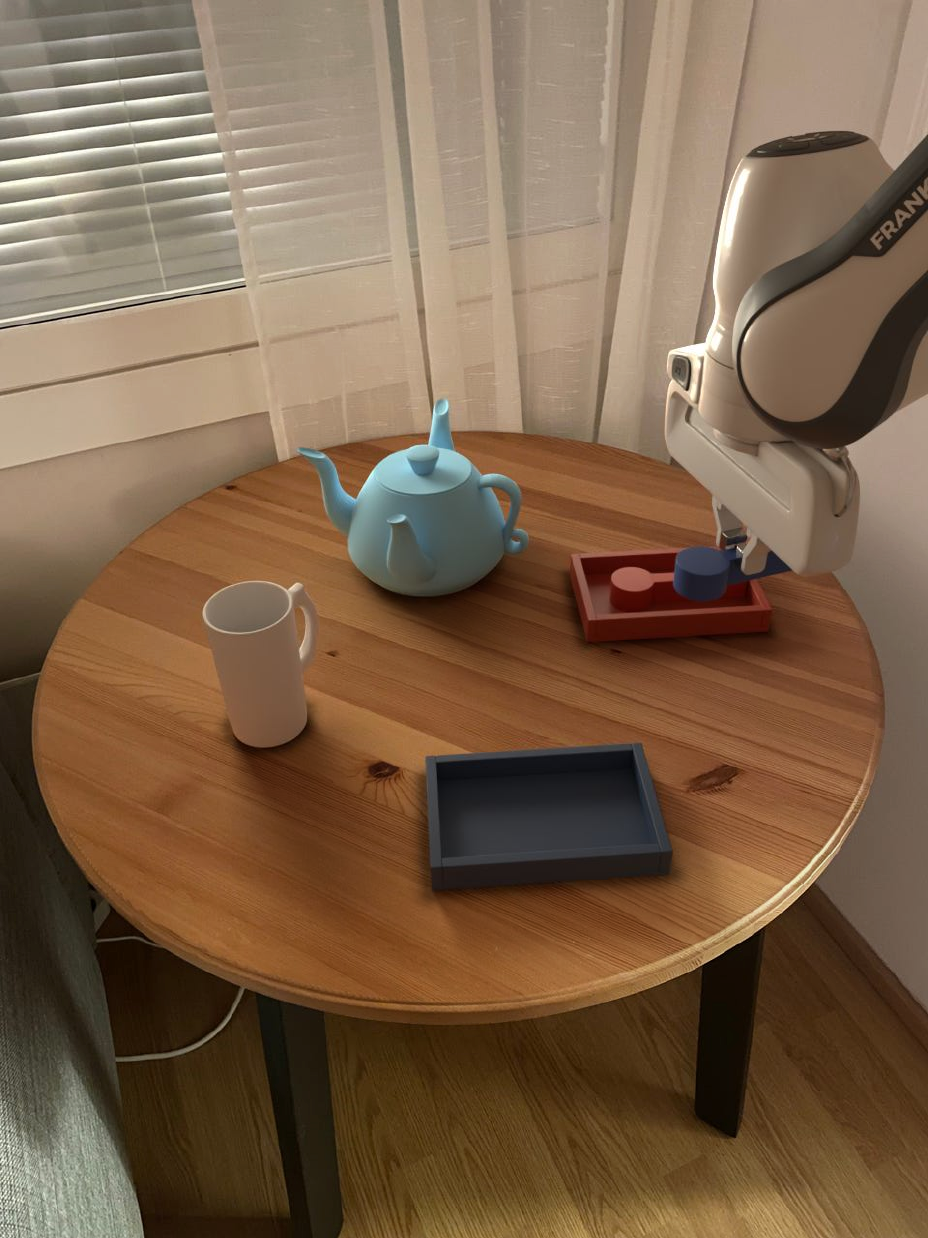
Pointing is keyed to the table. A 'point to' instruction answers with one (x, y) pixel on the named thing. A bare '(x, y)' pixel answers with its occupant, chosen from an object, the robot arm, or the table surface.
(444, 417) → the teapot
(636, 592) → the red spoon
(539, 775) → the blue tray
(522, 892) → the table surface
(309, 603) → the mug
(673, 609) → the red tray
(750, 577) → the blue spoon
